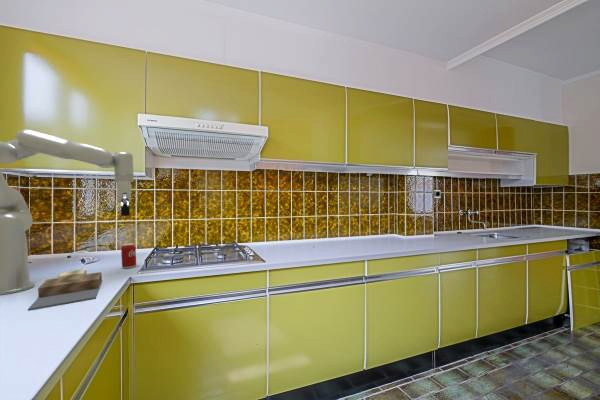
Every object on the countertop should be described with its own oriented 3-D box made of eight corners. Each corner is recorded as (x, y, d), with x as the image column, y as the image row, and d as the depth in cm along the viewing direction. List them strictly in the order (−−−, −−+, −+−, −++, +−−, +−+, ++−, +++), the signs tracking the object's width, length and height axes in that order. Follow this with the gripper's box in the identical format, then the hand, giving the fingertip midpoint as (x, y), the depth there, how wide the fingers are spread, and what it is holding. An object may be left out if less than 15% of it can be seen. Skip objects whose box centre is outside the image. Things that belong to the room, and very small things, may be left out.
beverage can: (134, 268, 142) (133, 244, 142) (120, 269, 141) (119, 245, 140) (137, 265, 148) (136, 242, 148) (124, 266, 147) (123, 243, 146)
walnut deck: (38, 298, 103) (38, 288, 102) (47, 289, 113) (46, 279, 113) (98, 289, 112) (98, 279, 112) (101, 281, 122) (101, 272, 122)
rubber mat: (28, 310, 92) (28, 308, 92) (37, 299, 102) (37, 298, 102) (95, 298, 101) (95, 297, 101) (98, 289, 111) (98, 288, 111)
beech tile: (58, 283, 108) (57, 276, 108) (62, 278, 114) (61, 272, 114) (84, 279, 112) (83, 273, 112) (86, 274, 118) (86, 269, 118)
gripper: (115, 179, 137) (117, 214, 138) (113, 177, 123) (115, 216, 123) (133, 179, 141) (134, 213, 142) (133, 177, 126) (135, 215, 127)
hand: (125, 215), depth 132 cm, fingers open, 9 cm apart
